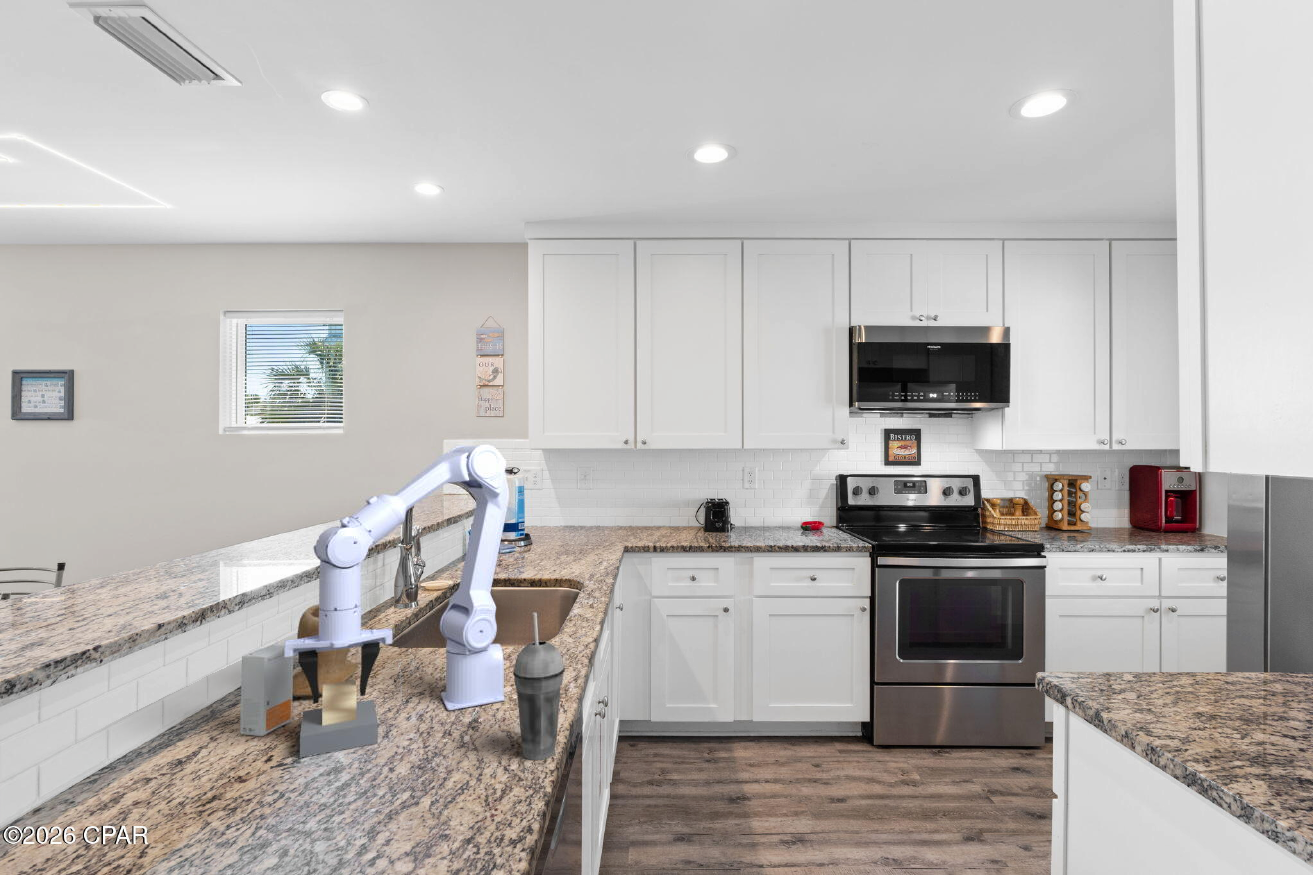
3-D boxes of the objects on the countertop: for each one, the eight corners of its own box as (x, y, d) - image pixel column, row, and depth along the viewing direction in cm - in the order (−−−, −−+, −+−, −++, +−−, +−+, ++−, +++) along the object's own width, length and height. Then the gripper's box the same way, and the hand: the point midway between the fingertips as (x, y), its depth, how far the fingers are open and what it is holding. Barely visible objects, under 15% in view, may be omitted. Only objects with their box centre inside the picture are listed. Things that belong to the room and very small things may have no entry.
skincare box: (263, 737, 96) (264, 657, 96) (239, 735, 97) (240, 655, 97) (293, 720, 102) (294, 645, 102) (271, 718, 103) (271, 644, 103)
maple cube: (355, 708, 99) (355, 679, 99) (356, 719, 95) (356, 689, 95) (322, 714, 97) (323, 684, 97) (322, 725, 93) (322, 694, 93)
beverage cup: (573, 745, 92) (573, 606, 93) (549, 768, 86) (549, 619, 86) (529, 738, 95) (529, 603, 95) (502, 760, 88) (502, 615, 89)
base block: (373, 718, 102) (373, 699, 102) (377, 743, 93) (377, 722, 94) (302, 730, 98) (303, 711, 98) (299, 758, 89) (300, 736, 89)
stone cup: (338, 701, 110) (338, 614, 110) (268, 702, 109) (269, 614, 110) (376, 671, 125) (376, 595, 125) (315, 672, 125) (315, 595, 125)
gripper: (283, 618, 89) (282, 716, 89) (394, 606, 96) (393, 697, 96) (286, 607, 96) (285, 699, 95) (390, 597, 102) (390, 682, 102)
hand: (339, 697), depth 96 cm, fingers open, 6 cm apart
